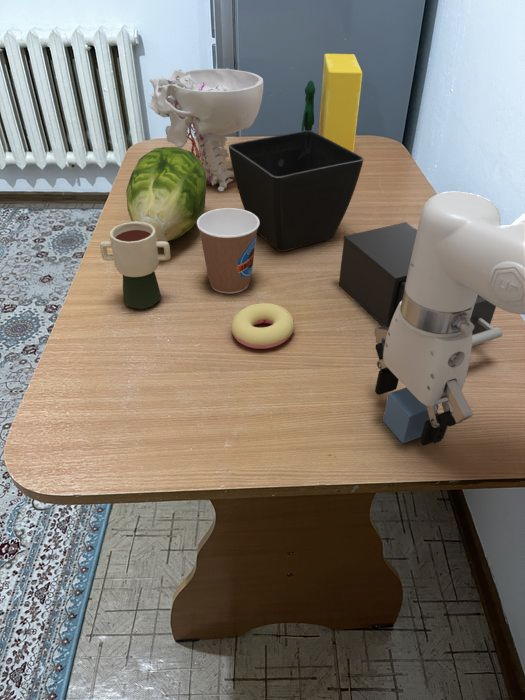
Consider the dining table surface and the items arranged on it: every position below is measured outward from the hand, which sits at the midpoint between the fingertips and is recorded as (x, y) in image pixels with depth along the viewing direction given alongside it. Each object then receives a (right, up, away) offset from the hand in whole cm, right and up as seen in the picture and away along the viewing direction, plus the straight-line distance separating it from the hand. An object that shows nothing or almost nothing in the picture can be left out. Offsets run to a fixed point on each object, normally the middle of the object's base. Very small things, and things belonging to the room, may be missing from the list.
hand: (407, 415), depth 73 cm
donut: (-19, +11, +16) cm, 27 cm away
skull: (-31, +48, +62) cm, 84 cm away
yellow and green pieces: (-3, +55, +71) cm, 90 cm away
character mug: (-39, +17, +23) cm, 48 cm away
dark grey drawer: (+9, +11, +16) cm, 21 cm away
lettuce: (-38, +32, +42) cm, 65 cm away
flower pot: (-13, +32, +43) cm, 55 cm away
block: (0, -2, +1) cm, 2 cm away
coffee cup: (-24, +20, +28) cm, 42 cm away
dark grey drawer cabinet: (+4, +18, +25) cm, 30 cm away
